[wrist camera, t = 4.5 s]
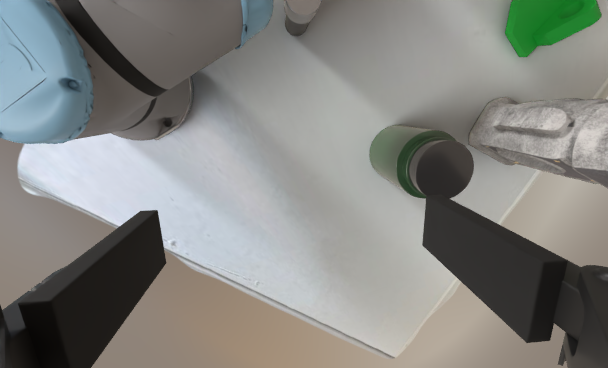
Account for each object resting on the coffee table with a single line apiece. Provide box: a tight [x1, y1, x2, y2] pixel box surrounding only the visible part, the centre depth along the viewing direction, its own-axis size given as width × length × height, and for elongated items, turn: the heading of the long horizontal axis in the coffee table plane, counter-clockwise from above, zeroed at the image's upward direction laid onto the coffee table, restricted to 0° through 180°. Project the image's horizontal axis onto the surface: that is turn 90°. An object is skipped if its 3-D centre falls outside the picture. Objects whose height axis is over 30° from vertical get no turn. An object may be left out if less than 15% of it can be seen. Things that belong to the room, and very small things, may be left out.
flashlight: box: [284, 0, 321, 36], centre depth 36 cm, size 4×4×12 cm
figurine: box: [469, 97, 608, 188], centre depth 37 cm, size 10×14×25 cm
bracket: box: [505, 0, 601, 57], centre depth 40 cm, size 12×8×7 cm, turn 139°
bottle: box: [370, 125, 474, 199], centre depth 41 cm, size 9×9×14 cm
